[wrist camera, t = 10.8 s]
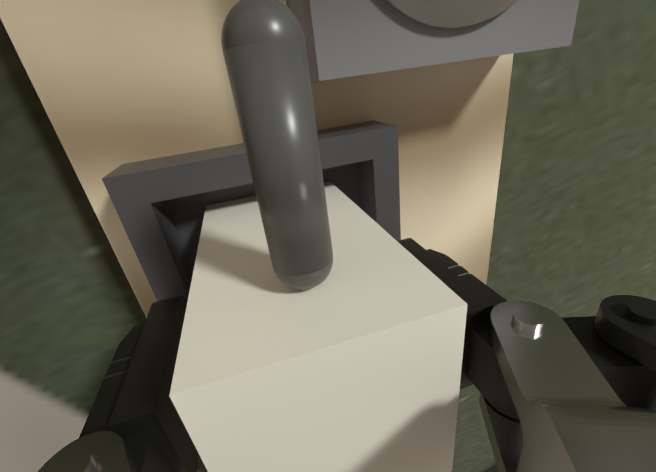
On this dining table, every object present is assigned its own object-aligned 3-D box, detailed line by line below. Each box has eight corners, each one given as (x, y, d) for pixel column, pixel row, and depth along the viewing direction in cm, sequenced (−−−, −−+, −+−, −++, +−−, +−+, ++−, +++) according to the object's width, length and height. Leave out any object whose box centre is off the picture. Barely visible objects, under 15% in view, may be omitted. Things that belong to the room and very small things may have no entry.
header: (122, 163, 9) (101, 178, 7) (373, 120, 10) (397, 125, 9) (207, 369, 13) (204, 406, 11) (385, 315, 14) (403, 342, 13)
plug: (160, 58, 8) (-54, -40, 2) (312, 41, 9) (501, -67, 3) (247, 340, 12) (267, 587, 6) (345, 312, 13) (448, 506, 7)
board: (-156, -395, 6) (-870, -1296, 2) (512, -314, 8) (736, -631, 5) (194, 381, 15) (183, 480, 11) (463, 299, 17) (526, 355, 14)
